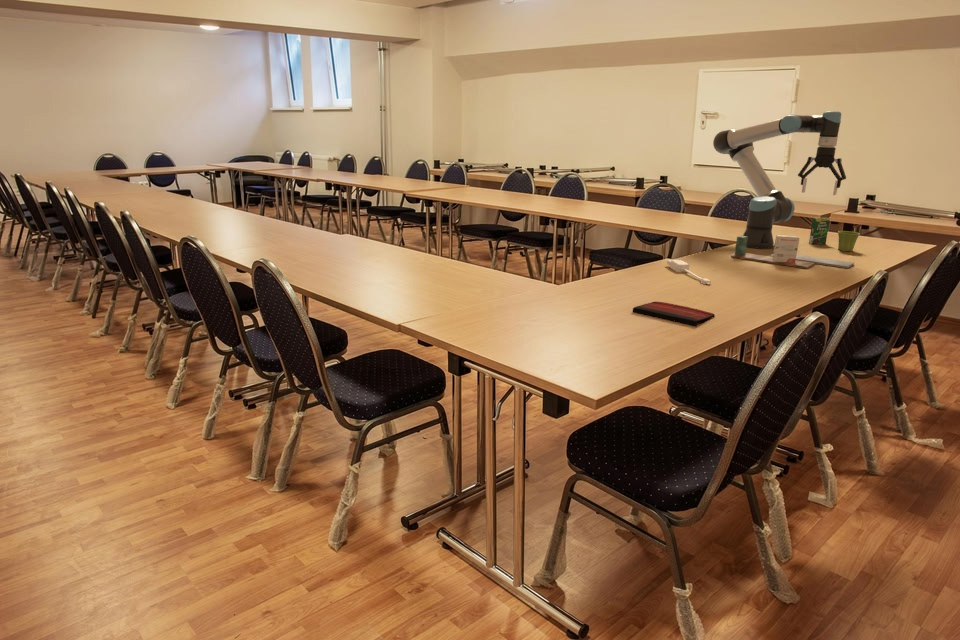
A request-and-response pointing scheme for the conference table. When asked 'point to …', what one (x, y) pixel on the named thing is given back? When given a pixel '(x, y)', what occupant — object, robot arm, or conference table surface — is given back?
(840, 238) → the plant pot
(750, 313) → the conference table surface
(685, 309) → the binder
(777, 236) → the ink box
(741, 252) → the board with upright blocks
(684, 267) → the charging cable
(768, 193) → the robot arm
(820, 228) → the coffee box
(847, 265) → the grey strip
